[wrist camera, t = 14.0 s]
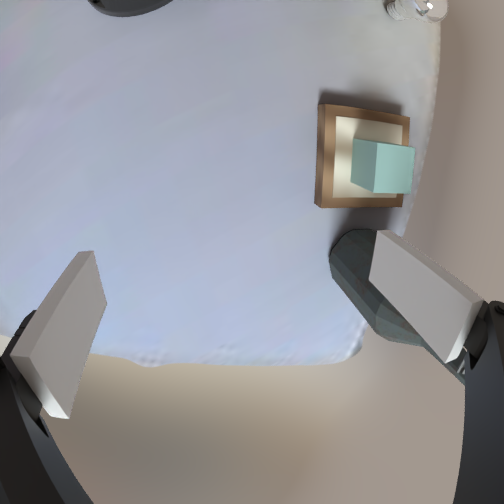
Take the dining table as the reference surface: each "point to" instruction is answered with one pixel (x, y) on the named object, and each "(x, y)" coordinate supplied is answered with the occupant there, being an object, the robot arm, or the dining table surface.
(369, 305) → the bottle
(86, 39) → the dining table surface
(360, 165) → the cube
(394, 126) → the picture frame
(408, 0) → the light bulb
